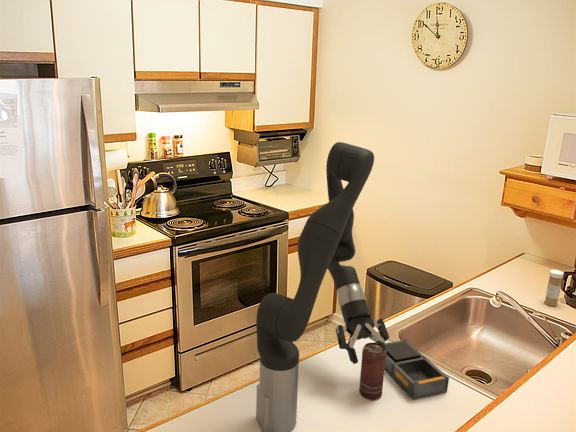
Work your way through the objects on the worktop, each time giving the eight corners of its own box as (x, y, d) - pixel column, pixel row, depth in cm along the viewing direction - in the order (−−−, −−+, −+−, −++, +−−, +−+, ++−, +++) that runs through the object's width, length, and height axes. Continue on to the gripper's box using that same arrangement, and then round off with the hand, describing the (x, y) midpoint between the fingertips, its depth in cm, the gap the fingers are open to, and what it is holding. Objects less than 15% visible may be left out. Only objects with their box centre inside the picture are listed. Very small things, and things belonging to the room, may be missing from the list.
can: (354, 389, 138) (357, 343, 134) (374, 385, 141) (378, 340, 137) (365, 402, 133) (369, 355, 129) (386, 398, 135) (390, 351, 131)
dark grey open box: (412, 400, 135) (414, 383, 133) (372, 358, 153) (373, 343, 152) (447, 392, 138) (449, 376, 137) (404, 352, 157) (405, 338, 156)
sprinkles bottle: (547, 300, 198) (553, 268, 194) (559, 304, 194) (566, 272, 190) (542, 303, 195) (548, 270, 191) (554, 307, 191) (560, 274, 188)
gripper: (334, 301, 137) (351, 361, 130) (380, 295, 142) (399, 352, 135) (325, 310, 143) (341, 368, 136) (369, 304, 148) (387, 359, 141)
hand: (370, 360), depth 135 cm, fingers open, 8 cm apart
